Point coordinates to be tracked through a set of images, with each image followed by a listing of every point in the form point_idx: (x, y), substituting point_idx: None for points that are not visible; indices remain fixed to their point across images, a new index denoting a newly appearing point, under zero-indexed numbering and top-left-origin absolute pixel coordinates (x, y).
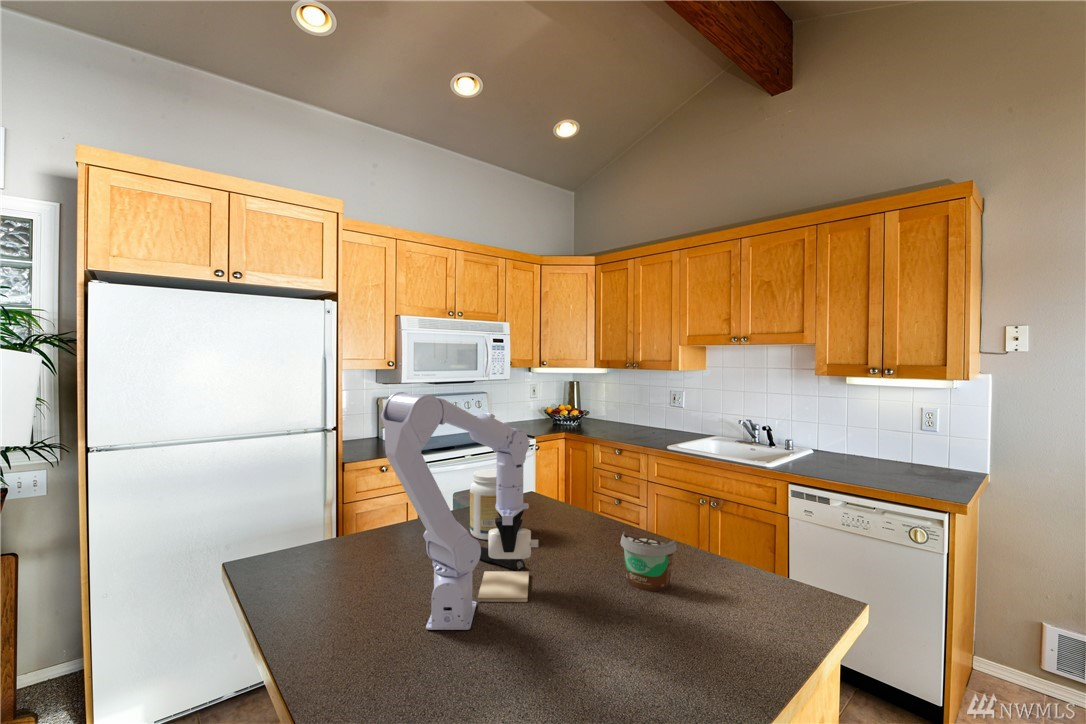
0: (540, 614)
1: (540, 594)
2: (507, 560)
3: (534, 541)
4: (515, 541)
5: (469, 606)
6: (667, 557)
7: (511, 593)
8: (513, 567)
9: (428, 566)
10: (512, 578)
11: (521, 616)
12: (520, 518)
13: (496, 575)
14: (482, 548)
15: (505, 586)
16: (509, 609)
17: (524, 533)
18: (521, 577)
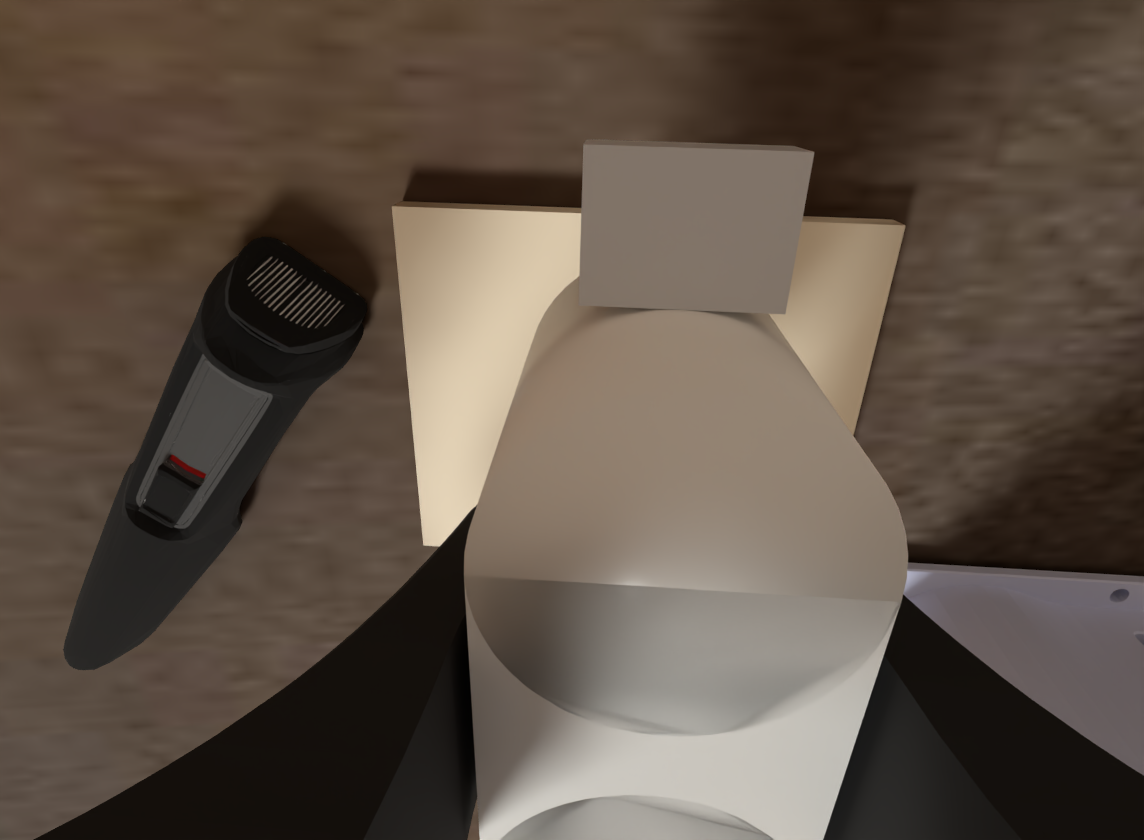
0: (1137, 103)
1: (778, 93)
2: (285, 413)
3: (683, 234)
4: (937, 625)
5: (1063, 637)
6: None
7: (802, 356)
8: (343, 347)
9: None
10: None
11: (1107, 267)
12: (368, 815)
13: (486, 468)
14: (125, 604)
15: None
16: (971, 356)
17: (804, 534)
18: (516, 276)
